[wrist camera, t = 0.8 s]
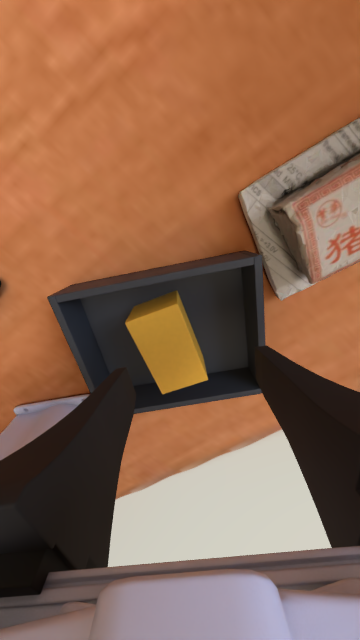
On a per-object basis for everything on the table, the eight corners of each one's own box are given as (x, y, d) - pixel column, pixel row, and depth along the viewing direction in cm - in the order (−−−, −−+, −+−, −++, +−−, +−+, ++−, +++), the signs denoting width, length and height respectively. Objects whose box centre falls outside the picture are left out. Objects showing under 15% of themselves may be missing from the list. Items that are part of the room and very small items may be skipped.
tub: (113, 390, 24) (102, 419, 21) (71, 284, 19) (46, 297, 16) (252, 367, 23) (267, 392, 20) (245, 250, 19) (262, 254, 15)
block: (164, 368, 23) (162, 394, 19) (133, 306, 20) (124, 322, 16) (203, 355, 22) (208, 380, 18) (177, 289, 19) (177, 303, 16)
